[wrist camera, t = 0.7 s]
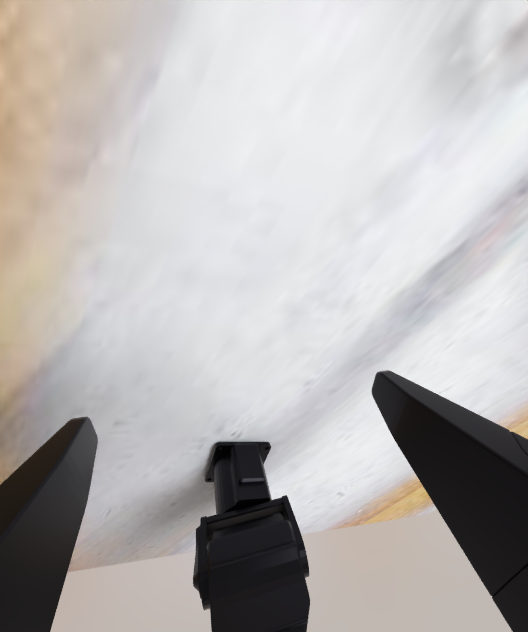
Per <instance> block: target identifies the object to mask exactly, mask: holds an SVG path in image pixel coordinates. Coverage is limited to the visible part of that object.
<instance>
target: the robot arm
mask: <svg viewBox="0 0 528 632" xmlns="http://www.w3.org/2000/svg"><path fill="white" fill-rule="evenodd" d="M372 395H373V398H374V400H375V402H376V404H377V406H378V408H379V410H380V412H381V414H382V416H383V418H384V420H385V422H386V424H387V426H388V428H389V430H390V432H391V434H392V436H393V438H394V439H395V441H396V443H397V444H398V446H399V448H400V449H401V451H402V453H403V454H404V456H405V457H406V459H407V461H408V462H409V464H410V466H411V467H412V469H413V470H414V472H415V474H416V475H417V477H418V478H419V480H420V482H421V483H422V485H423V487H424V488H425V490H426V491H427V493H428V495H429V496H430V498H431V500H432V501H433V503H434V504H435V506H436V508H437V509H438V511H439V512H440V514H441V516H442V517H443V519H444V521H445V522H446V524H447V525H448V527H449V529H450V530H451V532H452V534H453V535H454V537H455V538H456V540H457V542H458V543H459V545H460V547H461V548H462V549H463V551H464V553H465V555H466V556H467V558H468V560H469V561H470V563H471V564H472V566H473V568H474V569H475V571H476V572H477V574H478V576H479V577H480V579H481V581H482V582H483V584H484V585H485V587H486V589H487V590H488V592H489V593H490V595H491V596H492V599H493V600H494V602H495V604H496V605H497V607H498V608H499V610H500V612H501V613H502V615H503V617H504V618H505V620H506V621H507V623H508V624H509V626H510V628H511V630H512V631H513V632H528V439H526V438H524V437H522V436H520V435H518V434H516V433H514V432H510V431H509V430H508V429H506V428H504V427H502V426H500V425H498V424H496V423H494V422H492V421H490V420H488V419H486V418H484V417H482V416H480V415H478V414H476V413H474V412H472V411H470V410H468V409H466V408H464V407H462V406H460V405H458V404H456V403H454V402H452V401H450V400H448V399H446V398H444V397H442V396H440V395H438V394H436V393H434V392H432V391H430V390H428V389H426V388H424V387H422V386H420V385H418V384H416V383H414V382H412V381H410V380H408V379H405V378H403V377H401V376H399V375H397V374H395V373H393V372H391V371H388V370H387V371H380V372H377V374H376V376H375V379H374V383H373V387H372ZM97 444H98V438H97V434H96V432H95V430H94V427H93V425H92V422H91V420H90V418H88V417H80V418H74V419H71V420H70V421H68V422H67V423H66V424H65V425H64V426H63V427H62V428H61V429H60V430H59V431H57V432H56V433H55V434H54V435H53V436H52V437H51V438H50V439H49V440H48V441H47V442H46V443H45V444H44V445H43V446H41V447H40V448H39V449H38V450H37V451H36V452H35V453H34V454H33V455H32V456H31V457H30V458H29V459H28V460H26V461H25V462H24V463H23V464H22V465H21V466H20V467H19V468H18V469H17V470H16V471H15V472H14V473H13V474H11V475H10V476H9V477H8V478H7V479H6V480H5V481H4V482H3V483H2V484H1V485H0V632H50V630H51V627H52V623H53V619H54V616H55V612H56V609H57V606H58V602H59V598H60V595H61V592H62V588H63V585H64V581H65V578H66V574H67V571H68V567H69V564H70V560H71V557H72V553H73V550H74V547H75V543H76V540H77V536H78V533H79V529H80V526H81V522H82V519H83V515H84V512H85V508H86V504H87V500H88V495H89V490H90V484H91V478H92V473H93V467H94V461H95V455H96V450H97ZM270 449H271V445H270V443H269V442H219V443H217V444H216V445H215V448H214V451H213V454H212V457H211V460H210V463H209V466H208V469H207V472H206V475H205V481H206V482H214V487H215V501H216V515H213V516H209V517H206V516H205V517H201V524H200V526H199V527H198V528H197V529H196V556H195V565H194V575H193V584H194V587H195V588H196V589H197V590H198V591H199V593H200V598H201V599H202V604H203V609H204V610H206V609H210V611H211V627H212V632H306V630H307V623H308V615H309V607H310V598H309V593H308V589H307V585H306V580H305V578H306V577H308V576H309V566H308V560H307V555H306V551H305V547H304V543H303V540H302V536H301V533H300V530H299V527H298V525H297V522H296V519H295V516H294V514H293V511H292V508H291V505H290V503H289V500H288V497H287V495H286V496H282V498H278V499H274V500H272V499H271V495H270V491H269V487H268V482H267V478H266V474H265V470H264V465H263V464H264V462H265V460H266V457H267V455H268V453H269V451H270Z"/></svg>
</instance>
